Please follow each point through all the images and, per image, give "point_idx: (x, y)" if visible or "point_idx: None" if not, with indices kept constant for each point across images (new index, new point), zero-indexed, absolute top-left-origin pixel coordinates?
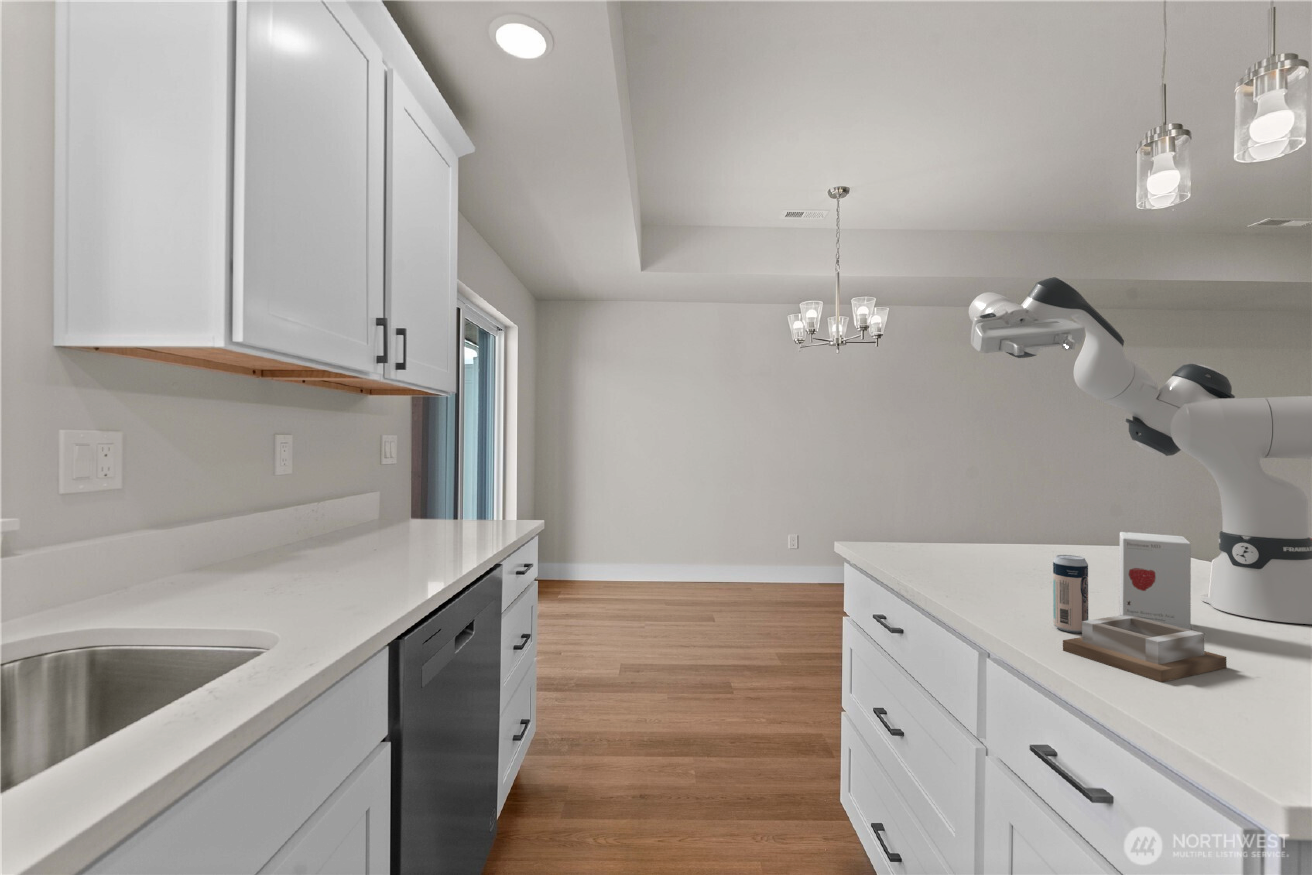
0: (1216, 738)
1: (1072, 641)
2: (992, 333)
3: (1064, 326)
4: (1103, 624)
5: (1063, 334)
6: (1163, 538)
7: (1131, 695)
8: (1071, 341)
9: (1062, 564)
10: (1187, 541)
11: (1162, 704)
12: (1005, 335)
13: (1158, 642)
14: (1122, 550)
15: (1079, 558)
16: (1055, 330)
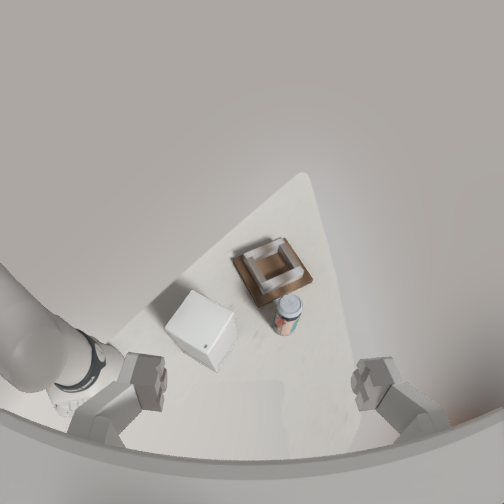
0: (298, 197)
1: (307, 277)
2: (500, 450)
3: (39, 476)
4: (294, 265)
5: (104, 435)
6: (198, 307)
7: (308, 227)
8: (139, 358)
9: (300, 299)
10: (188, 296)
11: (300, 219)
12: (449, 431)
13: (281, 238)
14: (233, 319)
15: (284, 301)
16: (132, 455)
